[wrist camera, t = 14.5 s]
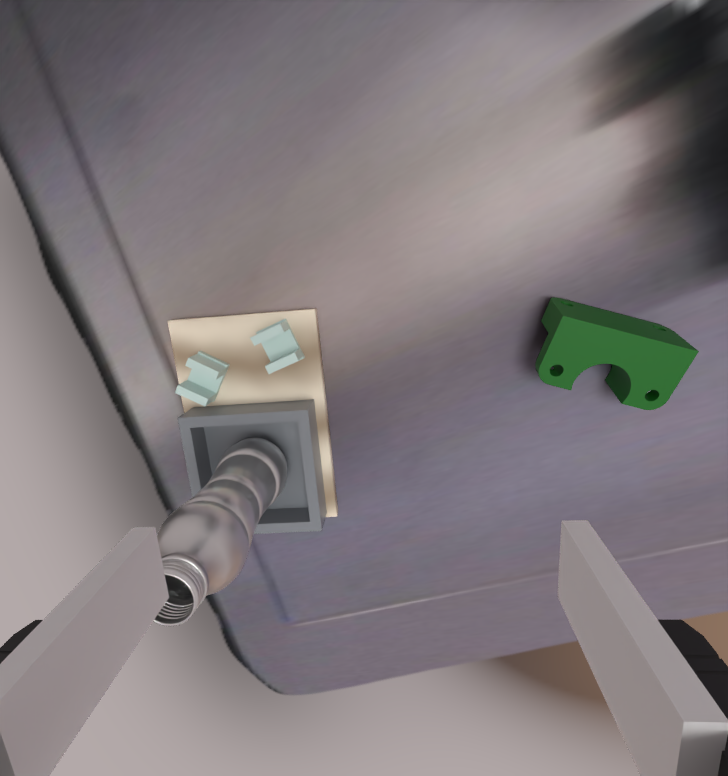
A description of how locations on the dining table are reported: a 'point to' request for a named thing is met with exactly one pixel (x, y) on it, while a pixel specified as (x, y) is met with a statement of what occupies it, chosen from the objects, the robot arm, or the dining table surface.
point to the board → (260, 369)
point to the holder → (281, 427)
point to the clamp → (613, 352)
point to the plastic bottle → (218, 526)
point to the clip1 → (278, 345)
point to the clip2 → (203, 378)
